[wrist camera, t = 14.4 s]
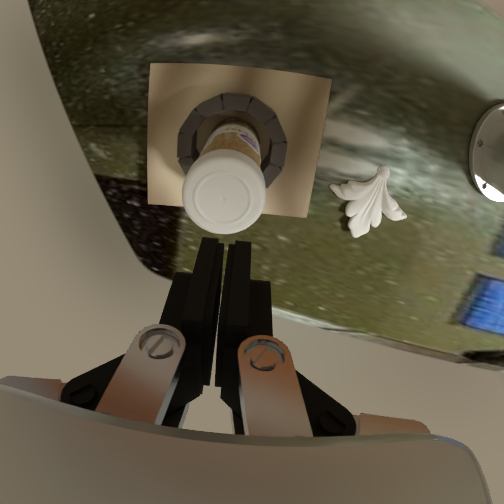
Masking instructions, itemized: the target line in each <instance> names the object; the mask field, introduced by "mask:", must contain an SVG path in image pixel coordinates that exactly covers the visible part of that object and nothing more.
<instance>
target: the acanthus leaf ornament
mask: <svg viewBox="0 0 504 504" xmlns="http://www.w3.org/2000/svg"><path fill="white" fill-rule="evenodd" d="M389 174H390V170H389V168H388V167H387V166H381V167H379V169H378V173H377V175H376V176H375V177H374V178H373V179H371V180H370V181H368V182H363V183H362V182H356V181H352V180H350V181H348V184H341V185H340V186H338V185H335V184H331V185H329V187H330V189H331V190H332V191H333V192H334V193H335V194H336V195H337V196H338V197H339V198H341V199H344V200H351V201H350V202H349V203H348V204H347V205H346V208H345V213H346V215H347V216H348V217H350V219H349V222H348V227H349V228H350V231H351V234H352V236H353V237H355V238H357V237H359V236H361V235H363V234H366V233H367V232H368V231H369V227H370V223H371V225H372V226H373V227H377V226H378V225H379V224H380V222H381V216H382V215H381V211H382V212H383V214H384V215H385V216H387V217H388V218H389V219H391V220H394V221H398V220H402V219H405V218H406V217H407V216H406V214H405V213H404V212H403V211H402V210H401V208H400V207H399V206H398V204H397V202H396V201H395V200H394V199H393V198H391V197H390V196H389V194H388V192H387V188H386V180H387V178H388V177H389Z"/></svg>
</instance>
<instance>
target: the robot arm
mask: <svg viewBox="0 0 504 504" xmlns="http://www.w3.org/2000/svg"><path fill="white" fill-rule="evenodd" d="M469 167H470V173H471V177H472V180H473V182H474V184H475V186H476V187H477V189H478V190H479V191H480V192H481V193H482V194H483V195H484V196H485V197H487V198H489V199H490V200H492V201H496V202H504V104H498V105H495V106H493V107H492V108H490V109H489V110H487V112H486V113H485V114H484V115H483V116H482V117H481V119H480V120H479V122H478V123H477V125H476V127H475V130H474V132H473V135H472V138H471V142H470V148H469ZM218 242H219V239H217V238H207V237H203V238H202V241H201V245H200V248H199V252H198V255H197V259H196V263H195V266H194V270H193V273H184V272H176V273H175V276H174V279H173V282H172V285H171V288H170V291H169V294H168V297H167V300H166V303H165V306H164V309H163V313H162V316H161V319H160V322H159V324H155V325H151V326H148V327H145V328H144V329H142V330H141V331H139V333H138V334H137V335H136V337H135V338H134V340H133V342H132V343H131V345H130V347H129V349H128V350H127V352H126V353H125V354H123V355H121V356H120V357H117V358H115V359H113V360H111V361H109V362H107V363H105V364H103V365H101V366H99V367H97V368H94V369H92V370H90V371H88V372H86V373H84V374H82V375H80V376H77V377H75V378H73V379H72V380H70V381H69V382H68V383H62V381H61V380H60V379H43V378H30V377H18V376H6V377H4V378H2V379H0V504H492V500H491V496H490V492H489V489H488V485H487V482H486V479H485V476H484V474H483V471H482V469H481V466H480V464H479V462H478V460H477V458H476V457H475V455H474V454H473V452H472V451H471V450H470V449H469V448H468V447H467V446H466V445H464V444H463V443H461V442H459V441H456V440H454V439H451V438H447V437H443V436H439V435H434V434H431V433H430V431H429V429H428V428H427V426H426V425H424V424H423V423H421V422H419V421H415V420H409V419H401V418H393V417H385V416H378V415H371V414H365V413H360V415H359V416H358V415H352V414H351V413H350V412H349V411H348V410H347V409H346V408H345V407H344V406H342V405H341V404H340V403H338V402H337V401H336V400H334V399H333V398H332V397H330V396H329V395H328V394H326V393H325V392H324V391H322V390H321V389H320V388H318V387H317V386H316V385H314V384H313V383H312V382H311V381H309V380H308V379H307V378H305V377H304V376H303V375H301V374H300V373H299V372H298V371H296V370H295V367H294V364H293V360H292V357H291V353H290V351H289V349H288V347H287V346H286V345H285V344H284V343H283V342H282V341H280V340H278V339H277V338H274V337H273V333H272V332H273V330H272V306H271V285H270V281H262V280H252V279H250V266H251V242H246V241H237V240H236V242H235V244H229V248H228V255H227V262H226V269H225V276H224V283H223V291H222V298H221V306H220V296H221V281H222V267H223V254H224V243H218ZM219 308H220V313H219ZM218 316H219V322H218ZM217 323H218V335H217V353H216V374H215V386H216V387H221V397H220V398H221V399H222V400H223V401H224V402H225V403H226V404H227V405H228V406H229V407H230V408H231V410H230V415H231V423H232V432H233V434H222V433H213V432H204V431H195V430H188V429H182V426H183V423H184V420H185V417H186V414H187V412H188V408H189V402H191V401H192V400H194V399H195V398H197V397H199V396H200V394H202V391H203V385H207V386H209V385H210V378H211V370H212V363H213V355H214V346H215V339H216V331H217Z"/></svg>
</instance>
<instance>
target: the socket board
mask: <svg viewBox="0 0 504 504" xmlns="http://www.w3.org/2000/svg"><path fill="white" fill-rule="evenodd" d="M331 82H332V79H327V78H322V77H317V76H311V75H306V74H300V73H293V72H286V71H279V70H272V69H264V68H255V67H244V66H233V65H218V64H198V63H150V78H149V98H148V130H147V180H148V204H157V205H171V206H183V202H182V186H183V183H184V180H185V178H186V175H187V173H188V171H189V170H190V168H191V166H192V165H193V164H194V162H195V161H196V160H197V159H198V158H199V156H200V154H201V152H202V150H203V148H204V146H205V144H206V143H207V141H208V139H209V137H210V135H211V133H212V131H213V129H214V127H215V126H216V125H218V124H219V123H220V122H222V121H224V120H226V119H230V118H239V119H243V120H246V121H248V122H250V123H251V124H252V125H253V126H254V127H255V129H256V131H257V132H258V135H259V138H260V144H259V147H260V156H261V164H260V169H261V171H262V174H263V176H264V180H265V189H266V198H265V205H264V208H263V210H262V212H261V213H264V214H274V215H284V216H293V217H302V218H306V217H307V212H308V207H309V203H310V198H311V193H312V188H313V183H314V178H315V172H316V167H317V162H318V157H319V151H320V146H321V141H322V135H323V129H324V124H325V118H326V112H327V107H328V101H329V95H330V88H331Z"/></svg>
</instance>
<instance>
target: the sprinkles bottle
mask: <svg viewBox="0 0 504 504" xmlns="http://www.w3.org/2000/svg"><path fill="white" fill-rule="evenodd" d="M259 144H260V138H259V135H258V132H257V131H256V129H255V127H254V126H253V125H252V124H251V123H250V122H248V121H246V120H243V119H239V118H230V119H226V120H224V121H222V122H220V123H219V124H218V125H216V126H215V127H214V129H213V131H212V133H211V135H210V137H209V139H208V141H207V143H206V144H205V146H204V148H203V150H202V152H201V154H200V156H199V158H198V159H197V160H196V161H195V162H194V164H193V165H192V166H191V168H190V170H189V171H188V173H187V175H186V178H185V180H184V183H183V186H182V202H183V206H184V208H185V211H186V212H187V214H188V216H189V217H190V218H191V220H192V221H193V222H194V223H196V224H197V225H198V226H199V227H201V228H203V229H205V230H207V231H209V232H213V233H217V234H231V233H236V232H239V231H242V230H244V229H246V228H248V227H249V226H251V225H252V224H253V223H254V222H255V221H256V220H257V219H258V217H259V216H260V214H261V212H262V210H263V208H264V205H265V198H266V189H265V180H264V176H263V174H262V171H261V169H260V164H261V156H260V147H259Z"/></svg>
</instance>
